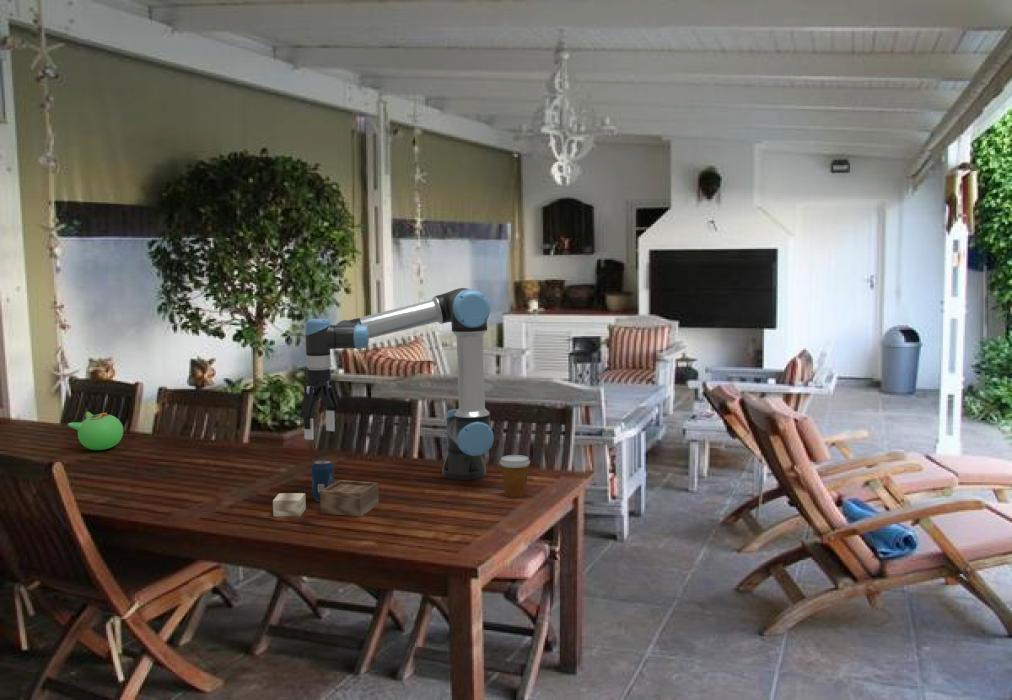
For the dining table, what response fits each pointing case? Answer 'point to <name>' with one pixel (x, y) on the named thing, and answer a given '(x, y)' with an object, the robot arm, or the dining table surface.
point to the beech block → (289, 504)
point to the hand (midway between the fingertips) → (320, 434)
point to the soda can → (321, 476)
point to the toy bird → (98, 431)
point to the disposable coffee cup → (515, 474)
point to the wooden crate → (349, 498)
